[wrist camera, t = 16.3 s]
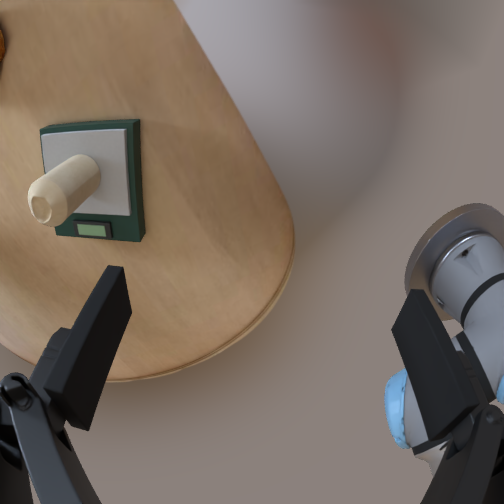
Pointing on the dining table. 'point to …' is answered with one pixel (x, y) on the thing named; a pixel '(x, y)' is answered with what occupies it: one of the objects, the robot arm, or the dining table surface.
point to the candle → (63, 189)
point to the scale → (102, 177)
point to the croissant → (1, 47)
